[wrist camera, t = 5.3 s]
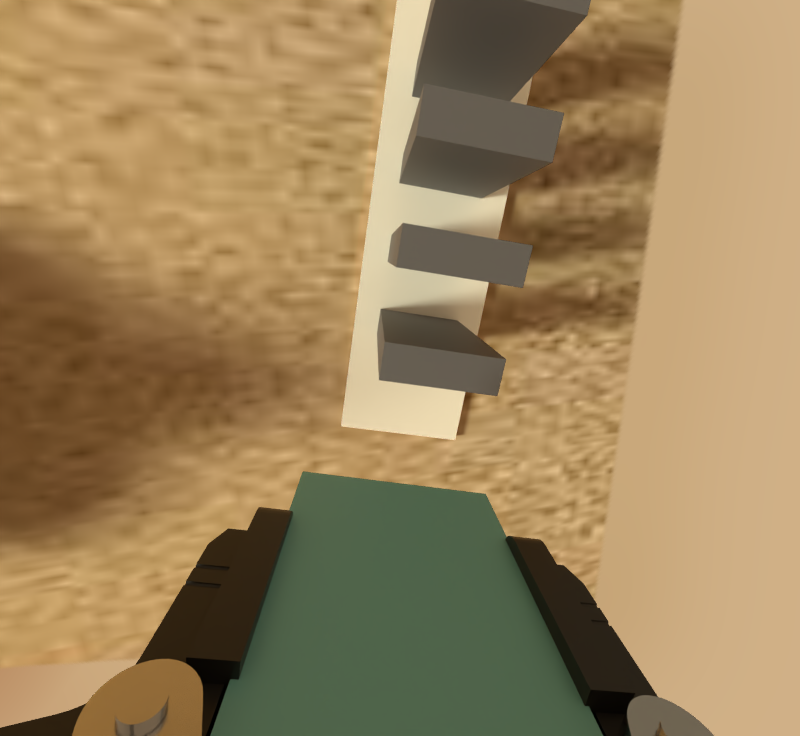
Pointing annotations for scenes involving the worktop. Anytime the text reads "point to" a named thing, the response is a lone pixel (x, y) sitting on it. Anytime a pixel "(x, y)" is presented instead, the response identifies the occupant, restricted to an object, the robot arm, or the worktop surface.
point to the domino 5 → (399, 625)
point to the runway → (407, 288)
